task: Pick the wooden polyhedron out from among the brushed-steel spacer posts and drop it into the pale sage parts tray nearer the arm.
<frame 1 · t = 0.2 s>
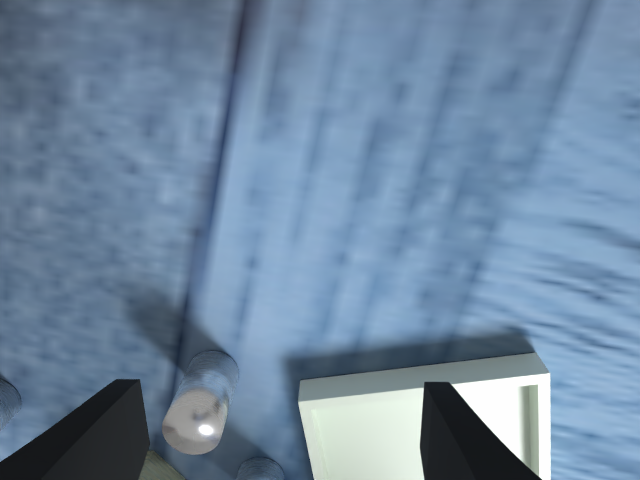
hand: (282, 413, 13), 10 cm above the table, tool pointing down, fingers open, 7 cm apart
parts tray: (426, 458, 26), on the table
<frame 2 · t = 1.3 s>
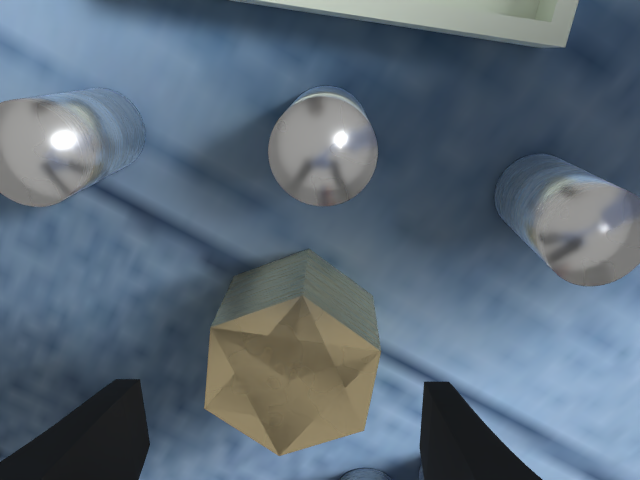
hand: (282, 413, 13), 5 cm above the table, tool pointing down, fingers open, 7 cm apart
wooden polyhedron: (298, 320, 17), on the table
spacer field: (298, 321, 17), on the table
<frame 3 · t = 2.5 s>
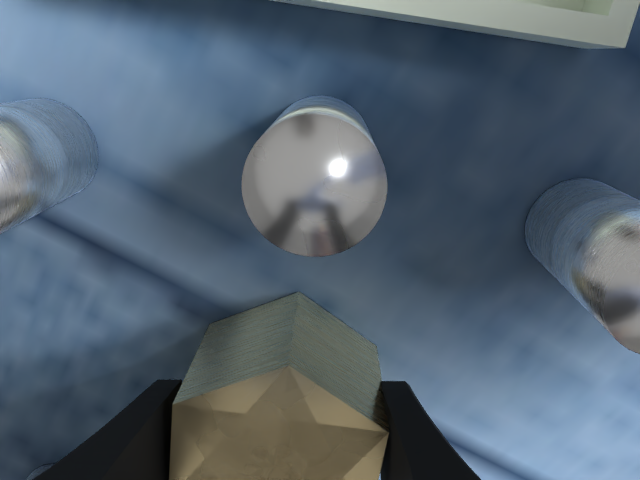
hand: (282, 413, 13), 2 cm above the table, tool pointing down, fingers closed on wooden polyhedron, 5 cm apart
wooden polyhedron: (287, 375, 14), on the table, touching gripper
spacer field: (287, 375, 14), on the table
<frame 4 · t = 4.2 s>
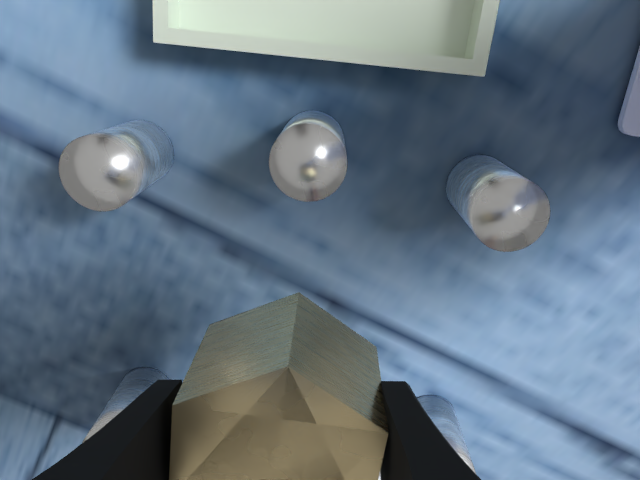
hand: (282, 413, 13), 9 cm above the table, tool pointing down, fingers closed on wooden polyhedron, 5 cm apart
wooden polyhedron: (287, 376, 14), point 7 cm above the table, touching gripper
spacer field: (298, 296, 22), on the table
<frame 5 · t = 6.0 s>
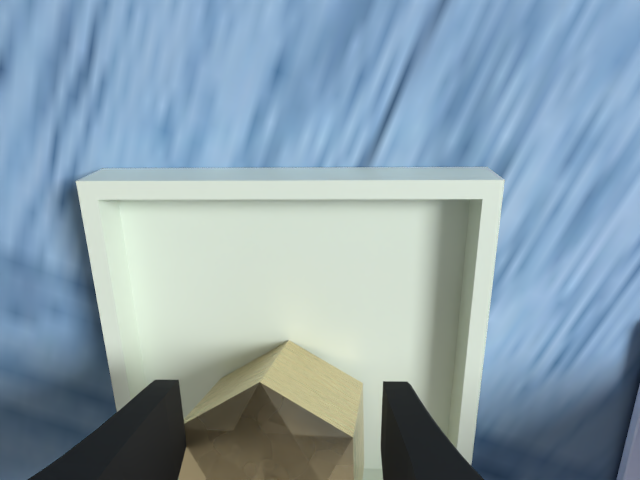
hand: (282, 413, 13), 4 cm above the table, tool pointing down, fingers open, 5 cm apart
parts tray: (297, 336, 16), on the table
wooden polyhedron: (291, 420, 16), point 1 cm above the table, tilted 15°, touching gripper, parts tray
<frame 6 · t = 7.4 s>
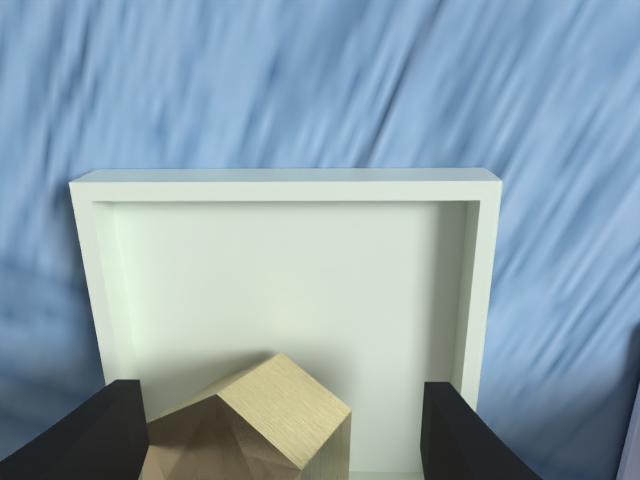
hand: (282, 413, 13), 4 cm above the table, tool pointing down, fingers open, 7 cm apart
parts tray: (293, 338, 16), on the table
wooden polyhedron: (279, 435, 16), point 2 cm above the table, tilted 26°, touching gripper, parts tray
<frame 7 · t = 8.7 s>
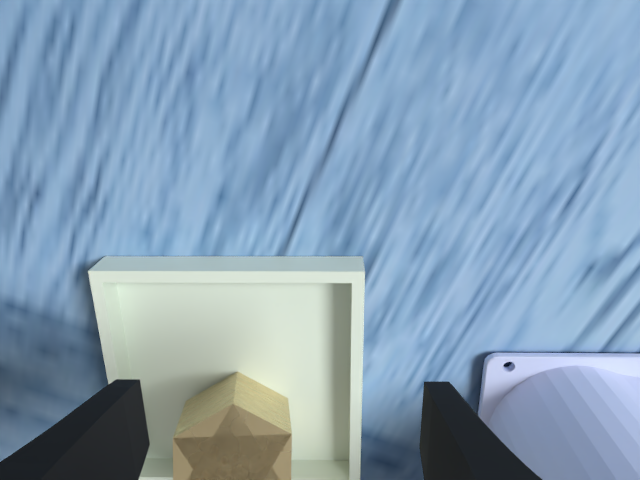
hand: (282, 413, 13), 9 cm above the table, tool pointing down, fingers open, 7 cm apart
parts tray: (241, 366, 23), on the table
wooden polyhedron: (237, 427, 23), point 1 cm above the table, tilted 16°, touching parts tray
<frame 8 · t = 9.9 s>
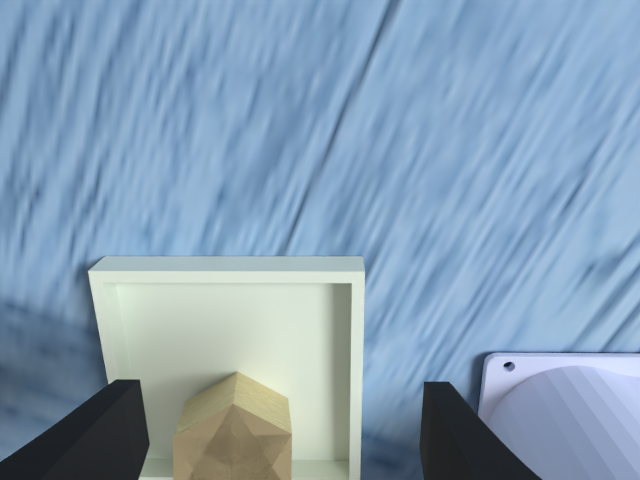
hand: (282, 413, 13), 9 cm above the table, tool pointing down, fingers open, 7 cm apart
parts tray: (241, 366, 23), on the table
wooden polyhedron: (237, 427, 23), point 1 cm above the table, tilted 16°, touching parts tray
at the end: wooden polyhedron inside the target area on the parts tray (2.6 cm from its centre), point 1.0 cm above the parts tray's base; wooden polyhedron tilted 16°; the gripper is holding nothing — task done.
